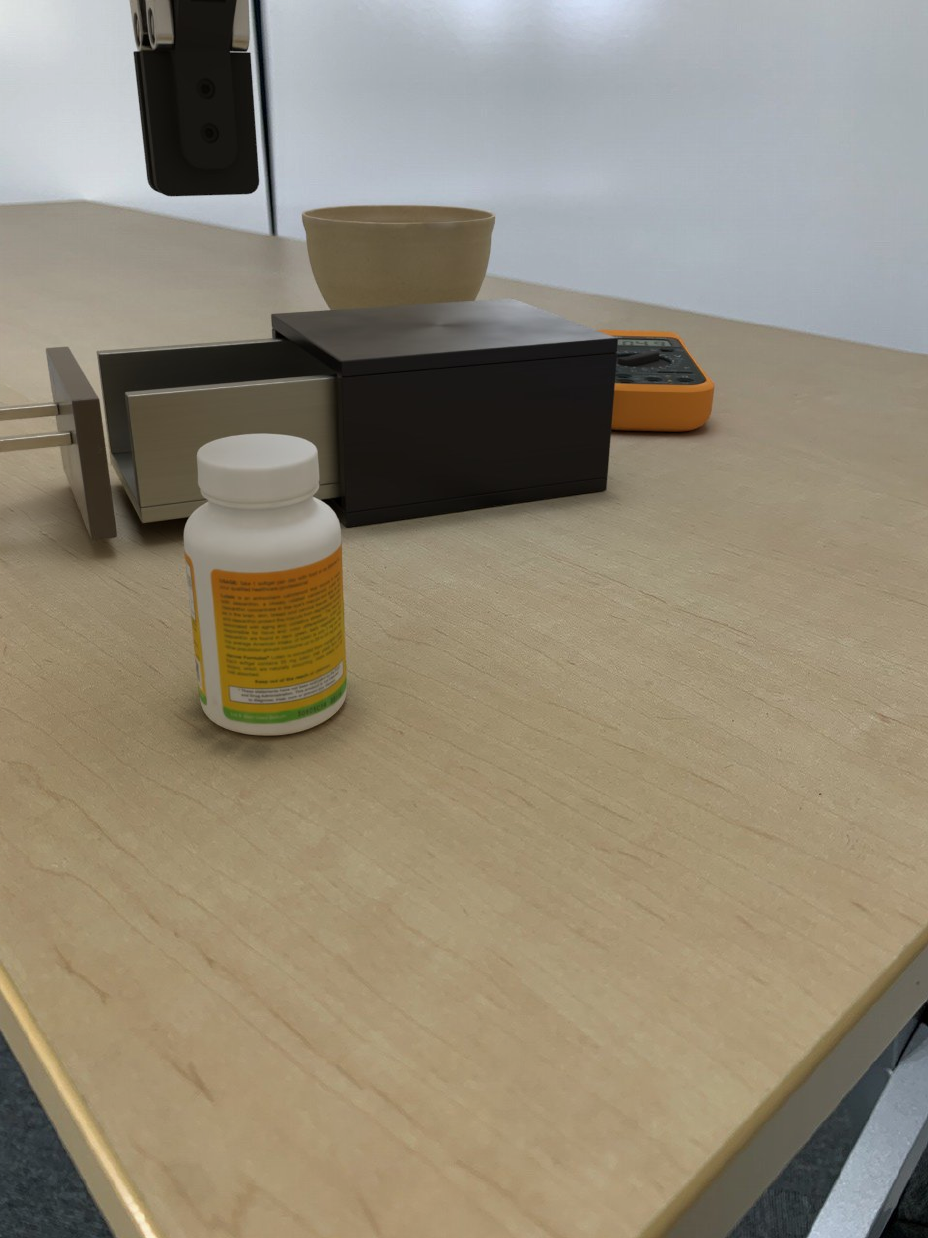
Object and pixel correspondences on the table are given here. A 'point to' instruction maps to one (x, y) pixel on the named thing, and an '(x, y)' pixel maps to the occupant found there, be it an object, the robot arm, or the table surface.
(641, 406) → the multimeter
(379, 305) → the planter bowl
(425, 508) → the dark drawer cabinet
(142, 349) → the sliding drawer
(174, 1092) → the table surface
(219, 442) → the supplement bottle
